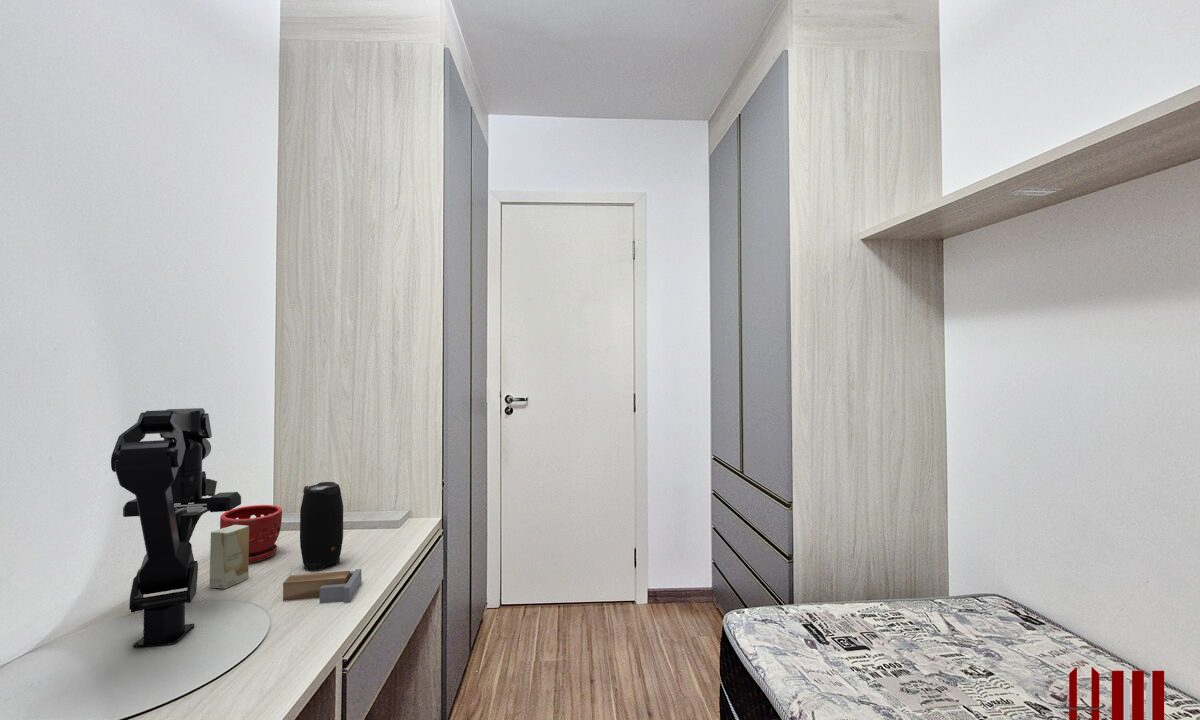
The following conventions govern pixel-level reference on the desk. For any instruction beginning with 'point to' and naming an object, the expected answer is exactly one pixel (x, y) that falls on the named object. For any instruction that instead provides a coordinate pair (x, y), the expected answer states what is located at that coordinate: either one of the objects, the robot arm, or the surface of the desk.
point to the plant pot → (257, 528)
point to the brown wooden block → (311, 584)
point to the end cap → (341, 589)
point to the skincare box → (229, 556)
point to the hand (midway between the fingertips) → (184, 545)
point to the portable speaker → (321, 525)
